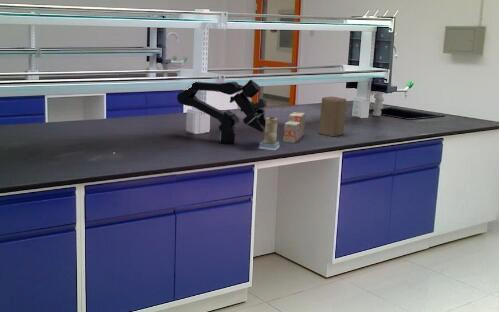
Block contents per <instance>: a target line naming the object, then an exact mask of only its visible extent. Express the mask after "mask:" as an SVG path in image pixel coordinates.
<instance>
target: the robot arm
mask: <svg viewBox="0 0 499 312" xmlns="http://www.w3.org/2000/svg"><path fill="white" fill-rule="evenodd" d="M194 82H195V83H193V82H192V83H193V84H192V83H191V84H192V87H191V88H189V89H188V90H185V89H184V90H182V92H181V91H180V92H179V93H178V94H177V96H176V98H177V99H176V100H177V102H178V103H179V105H180V104H181V105H184V106H187V107H193V108H195V109H196V110H199V111H201V112H203V113H204V114H207V115H208V116H210V117H212V118H214V119H216V120H217V121H218V122H219V123H220V125H218V131H219V139H218V141H219V143H220V144H232V145H233V144H235V142H236V141H235V140H236V133H235V129H236V127H237V126H238V125H239V123H240V118H239V116H238V115H237V113H236V112H235V113H234V112H232V111H231V110H226V111H222V110H221V109H218V108H216V107H215V106H213V105H211V104H209V103H207V102H205V101H202V100H200V99H199V98H198V97H197V95H196V94H197V93H199V91H204V92H205V91H207V92H219V93H222V94H223V95H229V96H230V97H229V103H230V104H231V103H234V102H235V104H236V105H237V106H238V107H239V108H240V112H241V113H243V114H244V115H245V117H244V118H243V119H242V122H243V124H245V125H247V126H249V127H250V128H252V129H255V130H257V131H259V132H260V133H263V132H265V129H264V128H265V123H266V118H265V115H266V110H265V109H264V108H266V107H267V106H268V105H267V101H266V100H265V99H264V98H260V99H258V101H257V102H255V103H254V101H251V100H250V99H252V98H254V97H255V96H256V95H257V94H259V92H261V87H260V86H259V84H258V83H256V82H255V81H253V79H249V81H247V83H246V84H244V85H241V84H239V83H238V82H237V81H227V82H220V83H219V82H204V81H203V82H202V81H198V82H197V81H194ZM249 98H250V99H249Z"/></svg>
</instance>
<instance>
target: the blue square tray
mask: <svg viewBox="0 0 499 312" xmlns="http://www.w3.org/2000/svg"><path fill="white" fill-rule="evenodd" d="M279 148H280V142H279V141H276V144H274V145H272V144H264V140H262V141H261V142H259V145H258V149H261V150H267V151H277V150H278V149H279Z"/></svg>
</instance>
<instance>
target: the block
mask: <svg viewBox="0 0 499 312" xmlns="http://www.w3.org/2000/svg"><path fill="white" fill-rule="evenodd" d="M320 105H321V107H320V116H319V126H318V133H319V134H320V135H324V136H328V137H331V138H332V137H338V136H342V135H344V129H345V127H344V126H345V119H346V109H347V99H346V98H343V97H337V96H326V97H325V96H324V97H322V98H321V104H320Z"/></svg>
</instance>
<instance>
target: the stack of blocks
mask: <svg viewBox="0 0 499 312" xmlns="http://www.w3.org/2000/svg"><path fill="white" fill-rule="evenodd" d="M305 122H306V113H305V112H297V111H296V112H295V111H294V112H292V113H290V114H289V117H288V121H286V122H285V123H284V128H283V129H284V130H283V140H282V141H283V142H286V143H293V144H295V143H297V142H298V141H299V140H300V139H301V138H302V137H304V135H305V124H306V123H305Z"/></svg>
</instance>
